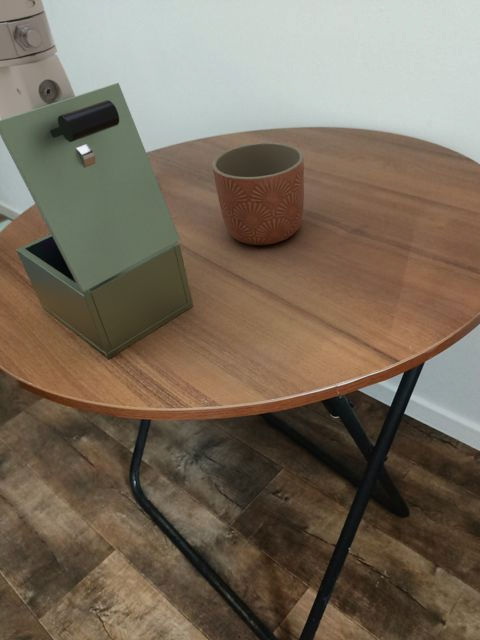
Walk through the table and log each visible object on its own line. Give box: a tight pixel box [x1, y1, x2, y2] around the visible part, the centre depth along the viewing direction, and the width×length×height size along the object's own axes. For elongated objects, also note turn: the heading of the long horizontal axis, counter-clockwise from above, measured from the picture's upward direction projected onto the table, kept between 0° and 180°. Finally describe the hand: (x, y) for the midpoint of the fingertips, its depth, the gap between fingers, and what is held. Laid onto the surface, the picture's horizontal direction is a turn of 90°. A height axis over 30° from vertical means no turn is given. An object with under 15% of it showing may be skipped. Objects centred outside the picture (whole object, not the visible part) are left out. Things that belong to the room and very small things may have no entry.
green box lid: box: [0, 82, 181, 292], centre depth 50 cm, size 16×13×6 cm
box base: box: [15, 233, 194, 360], centre depth 63 cm, size 16×13×9 cm
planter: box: [211, 141, 305, 246], centre depth 74 cm, size 12×12×11 cm
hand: (70, 210), depth 60 cm, fingers open, 9 cm apart
